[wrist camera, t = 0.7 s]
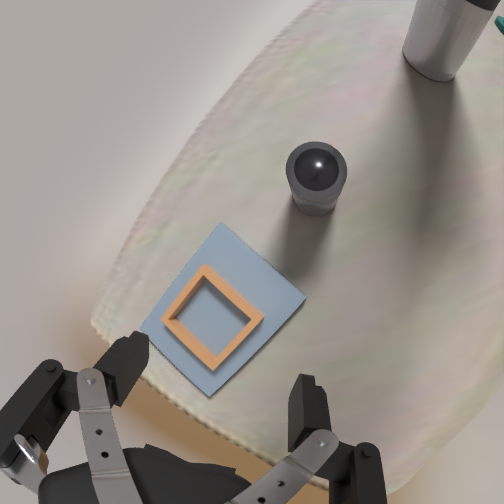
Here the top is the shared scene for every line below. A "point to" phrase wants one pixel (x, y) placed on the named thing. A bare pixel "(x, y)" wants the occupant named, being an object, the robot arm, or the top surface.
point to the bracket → (500, 23)
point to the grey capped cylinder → (316, 177)
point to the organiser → (220, 310)
